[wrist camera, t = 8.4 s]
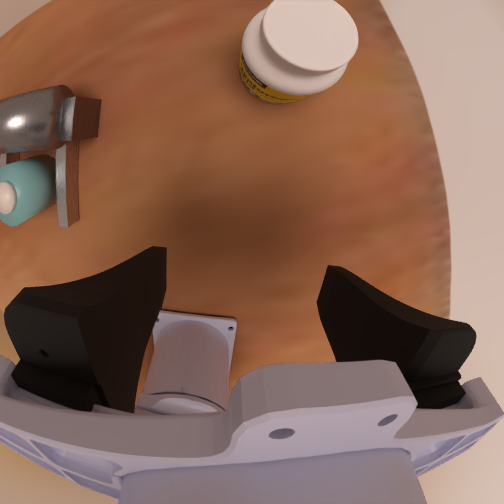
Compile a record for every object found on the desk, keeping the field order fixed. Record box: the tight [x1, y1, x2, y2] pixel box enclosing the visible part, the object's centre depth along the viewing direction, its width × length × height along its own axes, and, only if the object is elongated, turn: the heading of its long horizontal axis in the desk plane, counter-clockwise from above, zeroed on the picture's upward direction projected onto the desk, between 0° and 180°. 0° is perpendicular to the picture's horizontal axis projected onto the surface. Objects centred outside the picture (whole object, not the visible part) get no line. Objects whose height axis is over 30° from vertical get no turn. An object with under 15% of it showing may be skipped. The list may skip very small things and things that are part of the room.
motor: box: [0, 85, 101, 227], centre depth 14 cm, size 11×12×6 cm
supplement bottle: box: [239, 0, 358, 104], centre depth 12 cm, size 5×5×10 cm
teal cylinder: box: [0, 154, 57, 227], centre depth 16 cm, size 5×5×6 cm
